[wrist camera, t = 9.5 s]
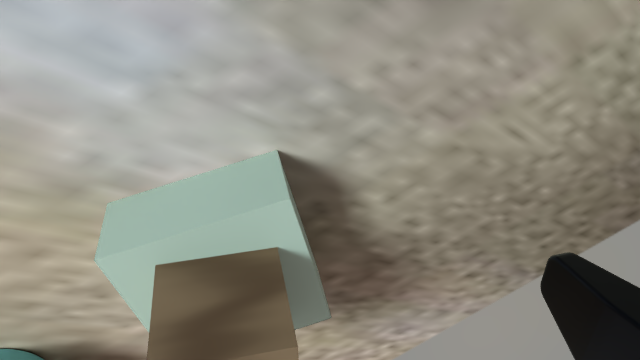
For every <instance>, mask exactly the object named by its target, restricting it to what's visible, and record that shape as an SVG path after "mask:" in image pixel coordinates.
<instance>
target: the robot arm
mask: <svg viewBox="0 0 640 360" xmlns="http://www.w3.org/2000/svg"><path fill="white" fill-rule="evenodd" d="M541 292H542V295H543V297H544V299H545V301H546V303H547V305H548V307H549V309H550V311H551V313H552V315H553V317H554V319H555V321H556V323H557V325H558V327H559V329H560V331H561V333H562V335H563V337H564V339H565V341H566V343H567V345H568V347H569V349H570V351H571V353H572V355H573V357H574V359H575V360H640V288H638V287H637V286H635V285H633V284H631V283H629V282H627V281H625V280H624V279H621V278H620V277H618V276H616V275H614V274H612V273H610V272H608V271H606V270H605V269H603V268H601V267H599V266H597V265H595V264H593V263H591V262H589V261H587V260H586V259H584V258H582V257H580V256H578V255H576V254H574V253H562V254H558V255H553V256H551V257H550V258H549V259H548V261H547V264H546V268H545V271H544V274H543V277H542V281H541Z"/></svg>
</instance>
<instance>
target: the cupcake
mask: <svg viewBox="0 0 640 360" xmlns="http://www.w3.org/2000/svg"><path fill="white" fill-rule="evenodd" d="M0 360H44V359H42V358H41V357H39V356H37V355H34V354H32V353H29V352H25V351H21V350H14V349H0Z"/></svg>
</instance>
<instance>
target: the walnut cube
mask: <svg viewBox="0 0 640 360" xmlns="http://www.w3.org/2000/svg"><path fill="white" fill-rule="evenodd" d="M147 360H298V345H297V340H296V335H295V330H294V325H293V321H292V316H291V311H290V306H289V301H288V296H287V291H286V286H285V281H284V276H283V272H282V267H281V262H280V257H279V252H278V247H274V248H268V249H261V250H254V251H247V252H241V253H234V254H227V255H220V256H213V257H207V258H200V259H193V260H186V261H179V262H173V263H166V264H159V265H155V275H154V286H153V297H152V308H151V319H150V330H149V341H148V352H147Z"/></svg>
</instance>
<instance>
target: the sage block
mask: <svg viewBox="0 0 640 360" xmlns="http://www.w3.org/2000/svg"><path fill="white" fill-rule="evenodd" d="M274 247H278V252H279V257H280V262H281V267H282V272H283V276H284V281H285V286H286V291H287V296H288V301H289V306H290V311H291V316H292V321H293V325H294V330H296V329H299V328H302V327H305V326H308V325H311V324H314V323H317V322H320V321H323V320H327V319H330V318H332V317H331V314H330V310H329V307H328V303H327V300H326V296H325V293H324V289H323V286H322V283H321V279H320V276H319V272H318V269H317V265H316V262H315V259H314V256H313V253H312V250H311V248H310V245H309V242H308V239H307V236H306V233H305V230H304V227H303V224H302V221H301V218H300V215H299V213H298V210H297V207H296V204H295V201H294V198H293V195H292V192H291V189H290V186H289V183H288V180H287V177H286V175H285V172H284V169H283V166H282V163H281V160H280V157H279V154H278V151H277V150H275V151H272V152H269V153H266V154H263V155H259V156H256V157H253V158H250V159H247V160H243V161H240V162H237V163H234V164H231V165H228V166H224V167H221V168H218V169H215V170H212V171H209V172H205V173H202V174H199V175H196V176H193V177H190V178H186V179H183V180H180V181H177V182H174V183H171V184H167V185H164V186H161V187H158V188H155V189H151V190H148V191H145V192H142V193H139V194H136V195H132V196H129V197H126V198H123V199H120V200H117V201H113V202H110V203H108V204H107V208H106V213H105V217H104V221H103V225H102V230H101V234H100V238H99V242H98V247H97V251H96V255H95V259H94V261H95V262H96V264H97V265H98V266H99V268H100V269H101V270H102V272H103V273H104V274H105V275H106V277H107V278H108V279H109V281H110V282H111V283H112V285H113V286H114V287H115V289H116V290H117V291H118V293H119V294H120V295H121V296H122V298H123V299H124V300H125V302H126V303H127V304H128V306H129V307H130V308H131V310H132V311H133V312H134V313H135V315H136V316H137V317H138V319H139V320H140V321H141V323H142V324H143V325H144V327H145V328H146V329H147V331H148V332H149V330H150V319H151V308H152V297H153V286H154V275H155V265H159V264H166V263H173V262H179V261H186V260H193V259H200V258H207V257H213V256H220V255H227V254H234V253H241V252H247V251H254V250H261V249H268V248H274Z"/></svg>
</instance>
